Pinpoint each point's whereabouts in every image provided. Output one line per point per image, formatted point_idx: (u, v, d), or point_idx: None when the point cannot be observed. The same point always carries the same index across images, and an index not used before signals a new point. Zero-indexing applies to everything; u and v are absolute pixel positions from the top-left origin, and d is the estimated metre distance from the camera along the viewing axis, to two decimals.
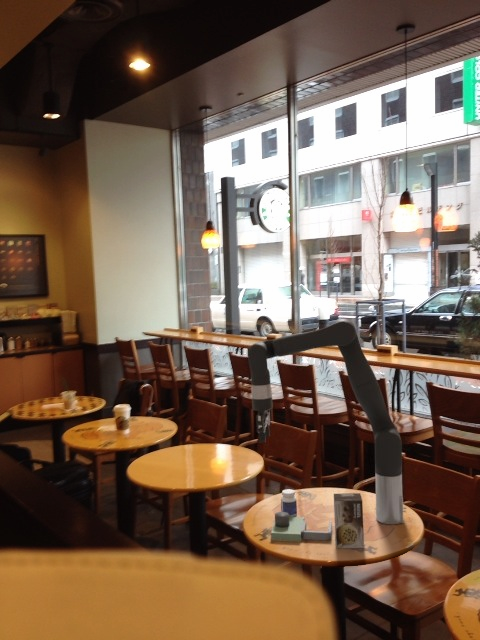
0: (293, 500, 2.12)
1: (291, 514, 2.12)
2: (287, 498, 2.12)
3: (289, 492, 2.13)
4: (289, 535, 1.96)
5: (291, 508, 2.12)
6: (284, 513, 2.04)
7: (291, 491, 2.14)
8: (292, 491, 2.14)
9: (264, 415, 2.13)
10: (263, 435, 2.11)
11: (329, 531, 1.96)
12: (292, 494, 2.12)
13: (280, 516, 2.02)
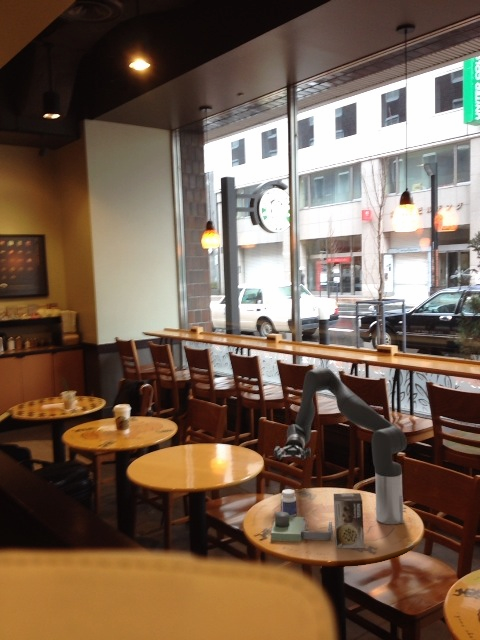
0: (293, 500, 2.12)
1: (291, 514, 2.12)
2: (287, 498, 2.12)
3: (289, 492, 2.13)
4: (289, 535, 1.96)
5: (291, 508, 2.12)
6: (284, 513, 2.04)
7: (291, 491, 2.14)
8: (292, 491, 2.14)
9: (286, 447, 2.34)
10: (278, 453, 2.28)
11: (329, 531, 1.96)
12: (292, 494, 2.12)
13: (280, 516, 2.02)
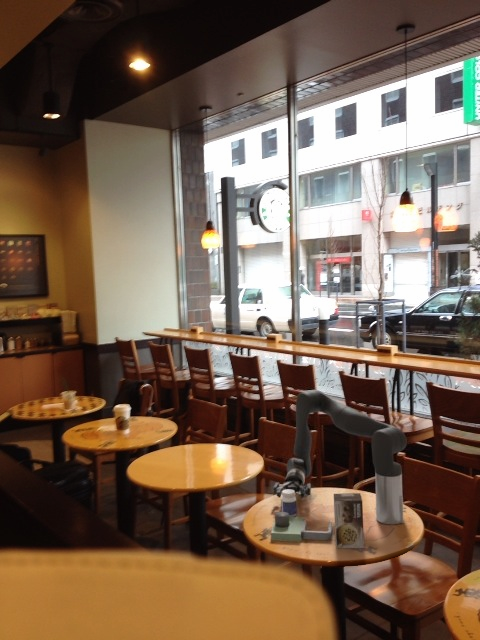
0: (293, 500, 2.12)
1: (291, 514, 2.12)
2: (287, 498, 2.12)
3: (289, 492, 2.13)
4: (289, 535, 1.96)
5: (291, 508, 2.12)
6: (284, 513, 2.04)
7: (291, 491, 2.14)
8: (292, 491, 2.14)
9: (285, 483, 2.29)
10: (278, 490, 2.23)
11: (329, 531, 1.96)
12: (292, 494, 2.12)
13: (280, 516, 2.02)
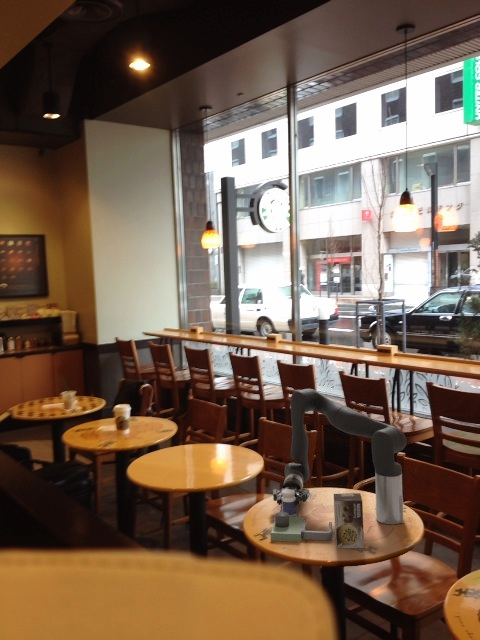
0: (293, 500, 2.12)
1: (291, 514, 2.12)
2: (287, 498, 2.12)
3: (289, 492, 2.13)
4: (289, 535, 1.96)
5: (291, 508, 2.12)
6: (284, 513, 2.04)
7: (291, 491, 2.14)
8: (292, 491, 2.14)
9: (283, 489, 2.22)
10: (278, 497, 2.15)
11: (329, 531, 1.96)
12: (292, 494, 2.12)
13: (280, 516, 2.02)
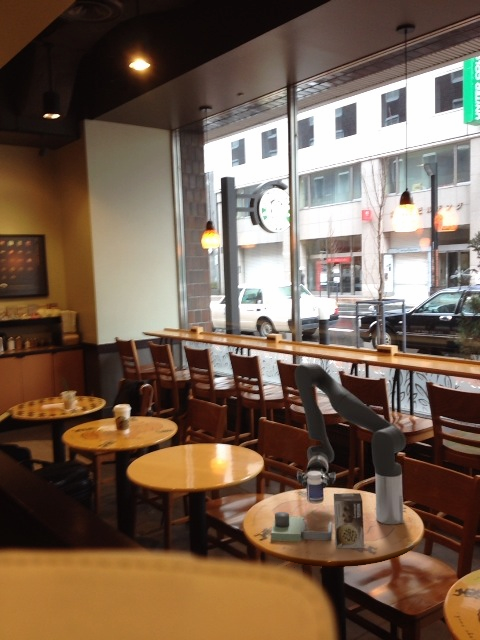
0: (320, 482, 1.98)
1: (318, 497, 1.98)
2: (314, 480, 1.98)
3: (315, 474, 1.98)
4: (289, 535, 1.96)
5: (318, 491, 1.97)
6: (284, 513, 2.04)
7: (317, 473, 1.99)
8: (318, 473, 1.99)
9: (308, 471, 2.08)
10: (303, 480, 2.01)
11: (329, 531, 1.96)
12: (319, 476, 1.98)
13: (280, 516, 2.02)
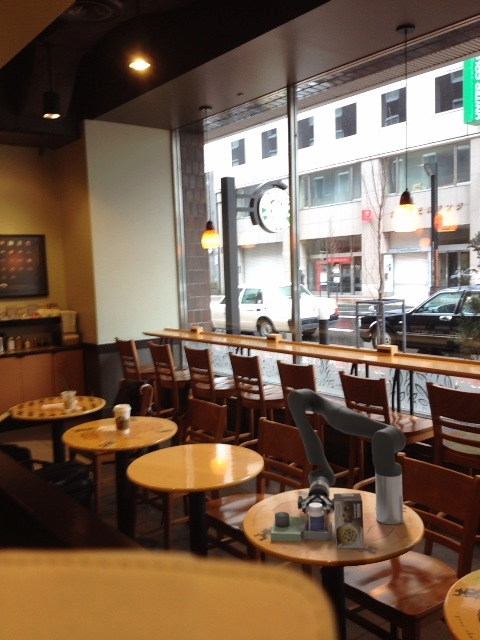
0: (321, 514, 1.98)
1: (319, 529, 1.98)
2: (315, 512, 1.98)
3: (316, 506, 1.99)
4: (289, 535, 1.96)
5: (319, 523, 1.98)
6: (284, 513, 2.04)
7: (318, 505, 2.00)
8: (320, 505, 2.00)
9: (309, 497, 2.08)
10: (303, 505, 2.02)
11: (329, 531, 1.96)
12: (320, 508, 1.99)
13: (280, 516, 2.02)
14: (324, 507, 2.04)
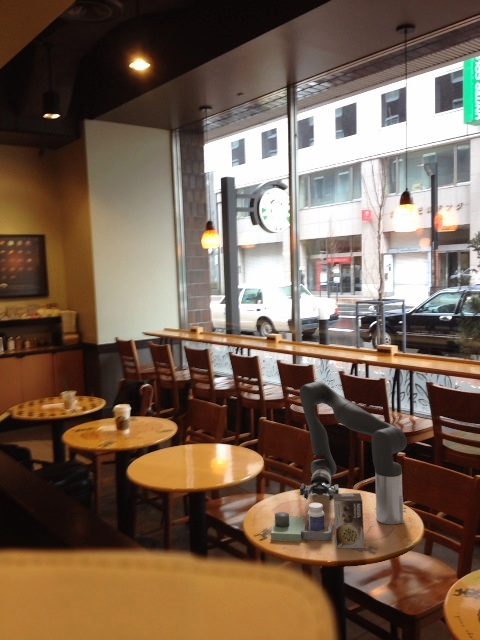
0: (321, 515, 1.98)
1: (319, 530, 1.98)
2: (315, 512, 1.98)
3: (317, 506, 1.99)
4: (289, 535, 1.96)
5: (319, 523, 1.98)
6: (284, 513, 2.04)
7: (319, 505, 2.00)
8: (320, 505, 2.00)
9: (312, 484, 2.21)
10: (305, 492, 2.14)
11: (329, 531, 1.96)
12: (320, 508, 1.98)
13: (280, 516, 2.02)
14: (327, 494, 2.16)
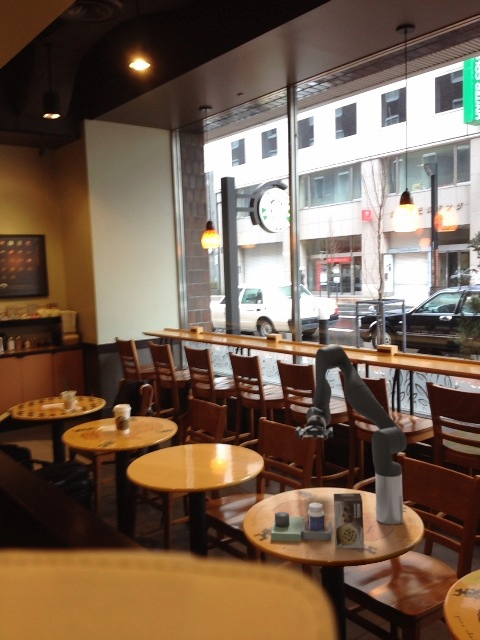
0: (321, 514, 1.98)
1: (319, 530, 1.98)
2: (315, 512, 1.98)
3: (317, 506, 1.99)
4: (289, 535, 1.96)
5: (319, 523, 1.98)
6: (284, 513, 2.04)
7: (319, 505, 2.00)
8: (320, 505, 2.00)
9: None
10: (300, 433, 2.22)
11: (329, 531, 1.96)
12: (320, 508, 1.99)
13: (280, 516, 2.02)
14: (321, 435, 2.24)
